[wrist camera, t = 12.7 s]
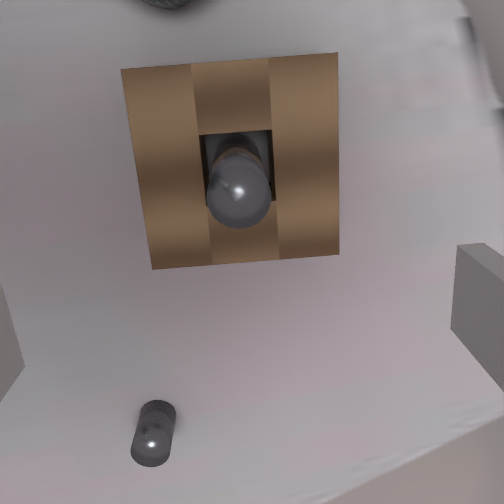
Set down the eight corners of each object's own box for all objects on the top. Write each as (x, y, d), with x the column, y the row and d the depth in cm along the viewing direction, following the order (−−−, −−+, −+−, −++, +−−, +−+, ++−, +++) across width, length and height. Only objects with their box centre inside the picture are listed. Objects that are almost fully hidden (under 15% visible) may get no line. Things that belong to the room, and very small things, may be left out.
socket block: (137, 69, 36) (120, 69, 31) (321, 55, 37) (337, 52, 31) (163, 242, 41) (152, 269, 36) (324, 229, 41) (339, 254, 36)
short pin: (138, 401, 47) (127, 438, 42) (173, 398, 47) (167, 434, 42) (143, 430, 48) (133, 468, 44) (178, 427, 48) (172, 465, 44)
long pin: (213, 134, 38) (203, 168, 25) (257, 131, 38) (269, 162, 25) (217, 178, 40) (209, 231, 26) (259, 174, 40) (273, 226, 26)
